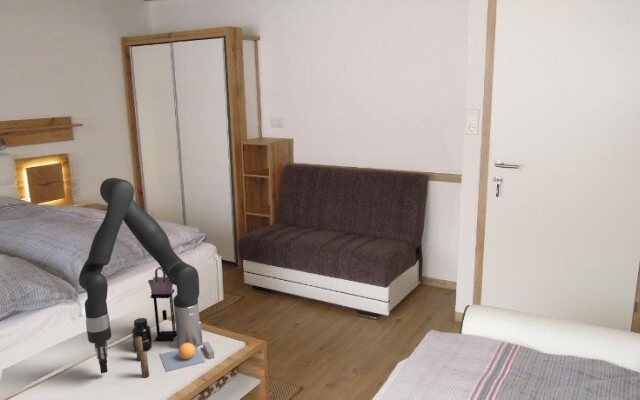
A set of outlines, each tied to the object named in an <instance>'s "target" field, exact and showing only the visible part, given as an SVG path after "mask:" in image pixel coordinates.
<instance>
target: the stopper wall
mask: <svg viewBox="0 0 640 400" xmlns="http://www.w3.org/2000/svg"><path fill="white" fill-rule="evenodd" d="M202 346H203V350H204V352H205V354H206V356H207V357H208V359H209V360H212V359H215V351H214V349H213V347H212V346H211V344H210V343H209V341H205V342H204V341H203V344H202Z"/></svg>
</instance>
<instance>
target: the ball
mask: <svg viewBox="0 0 640 400" xmlns="http://www.w3.org/2000/svg"><path fill="white" fill-rule="evenodd" d="M178 350H179V355H180V357H181V358H183V359H190V358H192V357H193V356H194V354H195V347H194V346H193V345H192V344H191V343H184V344H182V345H181V346H180V348H179V347H178Z"/></svg>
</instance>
